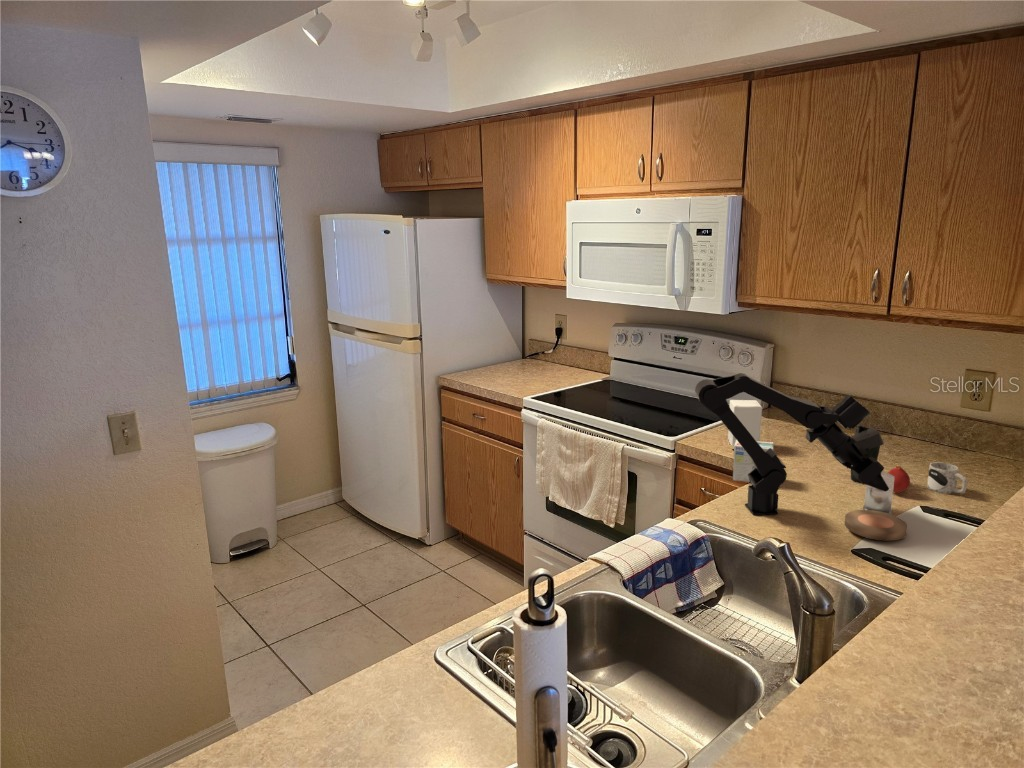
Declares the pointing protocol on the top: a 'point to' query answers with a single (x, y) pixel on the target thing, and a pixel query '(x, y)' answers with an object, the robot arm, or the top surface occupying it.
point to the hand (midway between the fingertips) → (879, 483)
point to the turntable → (875, 525)
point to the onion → (900, 479)
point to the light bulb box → (745, 461)
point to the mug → (945, 478)
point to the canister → (880, 496)
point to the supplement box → (747, 417)
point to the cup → (871, 454)
